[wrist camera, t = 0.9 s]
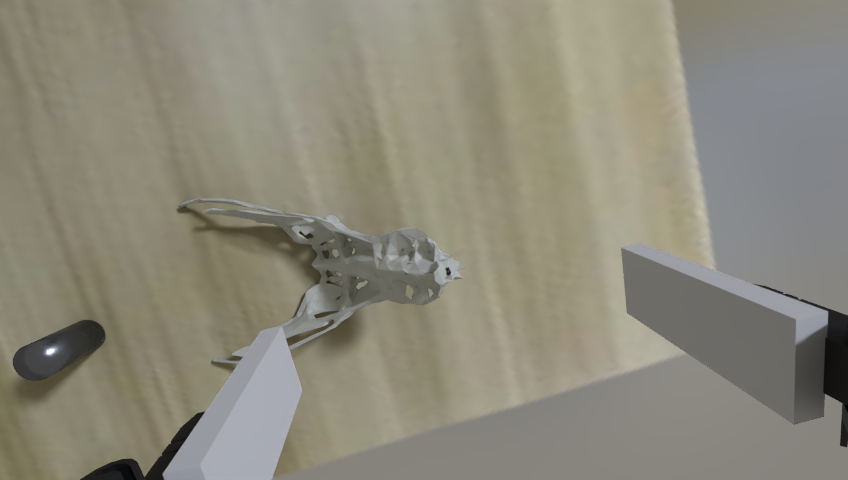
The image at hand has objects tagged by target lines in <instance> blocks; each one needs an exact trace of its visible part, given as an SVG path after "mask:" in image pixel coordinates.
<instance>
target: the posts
mask: <svg viewBox="0 0 848 480" xmlns="http://www.w3.org/2000/svg"><path fill="white" fill-rule="evenodd" d="M104 340H105V332H104V329H103V328H102V326H101V325H100V324H98V323H97V322H95V321H92V320H82V321H79V322H77V323H75V324H72V325H70V326H68V327H66V328H64V329H61V330H59V331H57V332H55V333H53V334H50V335H48V336H46V337H44V338H42V339H39V340H37V341H35V342H33V343H31V344H28V345H26V346H24V347H22V348H20V349H19V350H18V351H17V352H16V353H15V355H14V358H13V366H14V369H15V370H16V372H17V373H18V374H19V375H20V376H21V377H23V378H25V379H27V380H31V381H39V380H43V379H46V378H47V377H49V376H51V375H53V374H54V373H56V372H58V371H59V370H61V369H63V368H65V367H66V366H68V365H70V364H71V363H73V362H75V361H77V360H78V359H80V358H82V357H83V356H85V355H87V354H89V353H90V352H92V351H94V350H95V349H97V348H99V347H100V346H101V345H102V344H103V342H104Z"/></svg>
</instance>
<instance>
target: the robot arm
mask: <svg viewBox="0 0 848 480" xmlns="http://www.w3.org/2000/svg"><path fill="white" fill-rule="evenodd" d="M621 251H622V262H623V273H624V284H625V296H626V307H627V313H628V314H629V315H631V316H632V317H634V318H635V319H637V320H638V321H640V322H641V323H643V324H644V325H646V326H647V327H649V328H650V329H652V330H653V331H655V332H656V333H658V334H659V335H661V336H662V337H664V338H665V339H667V340H668V341H670V342H671V343H673V344H674V345H676V346H677V347H679V348H680V349H682V350H683V351H685V352H686V353H688V354H689V355H691V356H692V357H694V358H695V359H697V360H698V361H700V362H701V363H703V364H704V365H706V366H707V367H709V368H710V369H712V370H713V371H715V372H716V373H718V374H719V375H721V376H722V377H724V378H725V379H727V380H728V381H730V382H731V383H733V384H734V385H736V386H737V387H739V388H740V389H742V390H743V391H745V392H746V393H748V394H749V395H751V396H752V397H753V398H755V399H756V400H758V401H760V402H761V403H763V404H764V405H765V406H767V407H768V408H770V409H771V410H773V411H774V412H776V413H778V414H779V415H780V416H782V417H783V418H785V419H786V420H788V421H789V422H791V423H792V424H798V423H801V422H805V421H809V420H813V419H817V418H821V417H824V399H825V394H827V395H829V396H830V397H832V398H834V399H836V400H838V401H840V402H841V403H843V405H842V422H841V423H842V424H841V440H840V446H844V447H847V444H848V315H845V314H842V313H839V312H836V311H834V310H831V309H828V308H825V307H822V306H819V305H817V304H814V303H811V302H808V301H805V300H803V299H801V300H799V299H798V298H797V297H794V296H791V295H789V294H783V292H780V291H777V290H775V289H772V288H769V287H766V286H761V285H756V284H751V283H748V282H746V281H743V280H740V279H737V278H734V277H731V276H729V275H726V274H724V273H721V272H718V271H715V270H713V269H710V268H707V267H704V266H702V265H699V264H696V263H693V262H690V261H688V260H685V259H682V258H679V257H677V256H674V255H671V254H668V253H666V252H663V251H660V250H657V249H655V248H652V247H649V246H646V245H644V244H641V243H639V244H635V245H631V246H626V247H622V248H621ZM301 393H302V388H301V385H300V382H299V378H298V375H297V372H296V369H295V366H294V363H293V359H292V356H291V353H290V350H289V347H288V344H287V341H286V337H285V334H284V331H283V328H282V326H279V327H274V328H270V329H266V330H261V331H260V333H259V334H258V336H257V337H256V339H255V340H254V342H253V343H252V345H251V346H250V347H249V349H248V350H247V352H246V353H245V355H244V356H243V358H242V359H241V361H240V362H239V363H238V365H237V366H236V368H235V369H234V371H233V372H232V374H231V375H230V377H229V378H228V379H227V381H226V382H225V384H224V385H223V387H222V388H221V390H220V391H219V393H218V394H217V395H216V397H215V398H214V400H213V401H212V403H211V404H210V406H209V407H208V409H207V410H206V411H205V412H201V413H197V414H196V415H195V416H194V417H193V418H191V419H190V420H189V421H188V422H187V423H186V424H185V425H183V426H182V427H181V428H180V430H179V431H178V432H177V434H176V435H175V437H174V438H173V439H172V441H171V444H169V445H168V446H167V447H166V449H165V450H164V451H163V453H162V456H160V457H159V458H158V460H157V461H156V462H155V464H154V465H153V466H152V468H151V469H150V471H149V472H148V473H147V475H146V476H145V477H144V476H143V473H142V471H141V469H140V467H139V465H138V462H136V461H135V460H133V459H121V460H118V461H115V462H112V463H109V464H107V465H105V466H103V467H100V468H98V469H96V470H94V471H93V472H91V473H90V474H88V475H87V476H85V477H84V478H82V479H80V480H272V477H273V474H274V471H275V468H276V466H277V463H278V460H279V457H280V454H281V451H282V448H283V445H284V442H285V439H286V436H287V434H288V431H289V428H290V425H291V422H292V419H293V416H294V413H295V410H296V407H297V404H298V402H299V399H300V396H301Z"/></svg>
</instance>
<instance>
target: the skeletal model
mask: <svg viewBox="0 0 848 480" xmlns="http://www.w3.org/2000/svg"><path fill="white" fill-rule="evenodd" d="M203 202H214V203H227V204H233V205H239V206H245V207H251V208H254V209H258V210H262V211H266V212H270V213H276V214H268V213H262V212H256V211H246V210H221V209H216V208H211V209H207V210H203V211H202V212H203V213H204V214H216V215H226V216H233V217H240V218H246V219H252V220H255V221H256V222H258V223H269V224H274V225H277V226H279V227H281V228H283V229H284V231H285V232H286V233H287V234H288V235H289V236H290V237H291V238H292V239H294V240H295V241H296V242H298V243H299V244H311V245H312V247H313V249H314V250H315V251H316V253H317V257H316V259H315V260H314V262H313V263H312V266H313V268H314V269H316V270H318V271H319V272H320V274H321V279H320V282H319V284H317V285H314V286H313V287H312V288H310V289H309V290H308V291H306V294H305V297H304V299H303V301H302V303H301V306H300V308H299V310H298V312H297V314H296V316H295V317H294V318H293V319H291V320H289V321H287V322H285V323H283V324H280V325H279V326H282V328H283V331H284V334H285V337H286V339H287V338H289V337H291V336H294V335H297V334H300V333H303V332H306V331H309V330H313V329H317V328H320V327H323V326H326V325H328V323H329V322H330V321H331V320H334V324H333V325H332V326H330V327H329V328H327V329H325V330H324V331H321V332H318V333H316V334H314V335H312V336H310V337H308V338H306V339H303V340H301V341H299V342H297V343H295V344H293V345H291V346H288V347H289V350H292V349H294V348H296V347H298V346H300V345H302V344H304V343H306V342H308V341H310V340H312V339H314V338H316V337H318V336H320V335H322V334H324V333H325V332H327V331H329V330H331V329H333V328H335V327H337V326H338V325H339V324H340V323H341V322H342V321H343V320H345V319H347V318H348V317H350V316H351V315H352V314H353V313H355V312H356V311H357V310H358V309H359V308H361V307H364V306H366V305H369V304H372V303H376V302H381V301H384V300H387V299H388V300H390V301H393V302H397V303H401V304H410V303H412V304H415V305H425V304H428V303H430V302H432V301H434V300H435V299H437V298H439V297H440V295H441V294H442V291H443V289H444V287H445V285H446V284H447V283H448V282H449V281H452V280H454V279H463V278H462V277H461V275H460V274H459V272H458V270H460V269H463V268H464V267H463V265H462V264H461V263H460V262H458V261H455V260H453V259H452V258H451V255H449V254H446V253H444V252H441V251H440V249H439V248H438V246H437V245H436V243H435V242H434V241H433V240H431V239H429V238H428V237H427V235H426V234H425V232H423V231H421V230H419V229H417V228H415V227H406V228H400V229H397V230H394V231H391V232H388V233H386V234H383V235H379V236H367V235H364V234H362V233H359V232H356V231H353V230H350V229H348V228H347V227H345V226H344V225H343V224H340V222H339V220H338V218H336V217H335V216H334V215H330V216H326V217H325V218H323V219H322V218H320V217H317V216H310V215H305V214H297V213H290V212H285V211H280V210H273V209H268V208H264V207H261V206H257V205H254V204H250V203H246V202H241V201H236V200H231V199H216V198H203V199H193V200H189V201H185V202H183V203H181V204H180V205H178V207H180V208H182V207H184V206H186V205H188V204H194V203H203ZM277 214H281V215H277ZM285 215H287V216H285ZM296 216H300V217H296ZM312 219H314V220H312ZM300 230H301V232H302V233H303V234H304V235H307V234H309V233H311V234H312V235H313V238H310V239H306V238H305V237H304V236H302V235H301V234H299V232H300ZM314 236H315V237H314ZM334 238H335V241H334V242H333V243H332V244H330V243H325V244H324V245H320V244H322V243H323V242H326V241H329V240H332V239H334ZM348 238H350V239H352V241H350V242H349V240H348ZM353 248H355V253H354V254H352V251H353ZM332 249H337V250H338V252H339V257H334V255H333V254H332ZM325 250H328V251H329V254H330V255H329V257H328V259H326V258H325V257H324V256H323V252H322V251H325ZM327 270H329V271H330V272H332V273H333V276H330V277H327V275H326V272H327ZM336 272H341V273H342V276H338V275H336ZM357 277H359V279H357ZM365 280H367V281H368V283H367V284H366V285H365V286H364V287H361V288H360V289H359V290H358V289H357V288H356V286H357V284H358V283H360V282H364V281H365ZM327 281H330V282H333V283H334V282H337V281H343V284H342V287H339V286H336V285H334V284H328V283H326V282H327ZM407 284H408V285H409V286H411V287H412V288H413V289H414V293H413V296H412V299H409V298H408V297H407V296H406V295H405V292H406V286H407ZM418 287H419V290H418ZM428 288H430V289H431V290H432V291H433V295H432V297H431V298H430V299H429V292H428ZM341 293H342V294H343V295H341ZM339 296H340V299H339V300H337V301H336V298H337V297H339ZM324 304H325V305H324ZM304 309H305V310H304ZM332 311H338V312H336V313H334V314H331V315H328V316H325V317H321V318H315V316H314V315H315V314H319V313H322V312H332ZM251 345H252V344H251ZM251 345H249V346H247V347H245V348H242V349H240V350H238V351H235V352H234V353H233V354H231V355H234V356H240V357H243V356H244V355H245V353H246V352H247V350H248V349H249V347H250V346H251ZM213 361H214V362H223V363H233V364H238V363H239V362H240V361H241V360H239V361H229V360H222V359H215V358H214V359H213Z"/></svg>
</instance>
